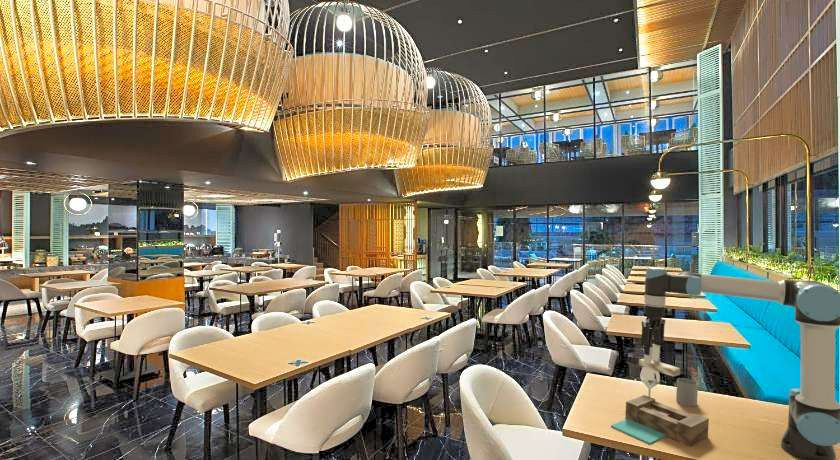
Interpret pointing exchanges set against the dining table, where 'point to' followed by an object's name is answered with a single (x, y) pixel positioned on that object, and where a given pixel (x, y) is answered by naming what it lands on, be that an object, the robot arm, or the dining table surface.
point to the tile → (660, 367)
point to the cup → (687, 392)
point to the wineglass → (649, 378)
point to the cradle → (668, 420)
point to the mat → (638, 431)
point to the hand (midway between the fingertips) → (651, 361)
